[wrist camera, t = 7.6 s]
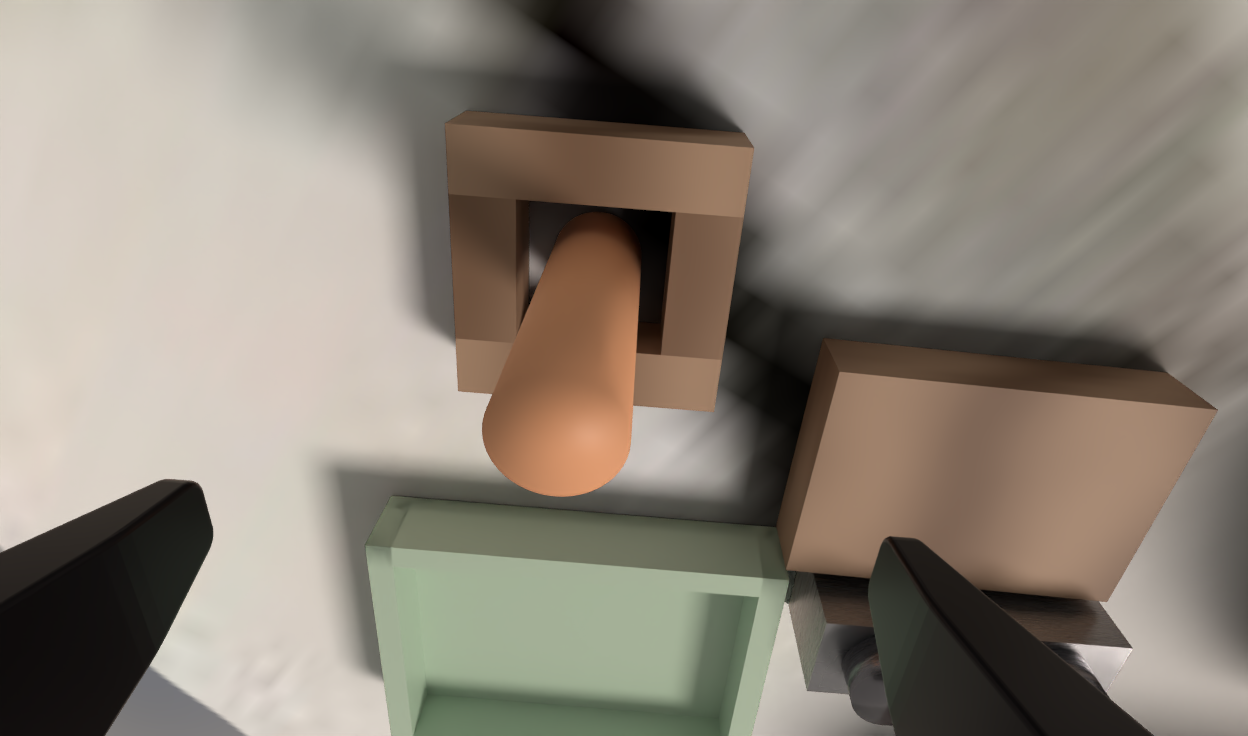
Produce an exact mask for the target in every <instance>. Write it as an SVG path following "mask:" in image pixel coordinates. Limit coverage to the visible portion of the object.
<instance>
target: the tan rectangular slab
mask: <svg viewBox="0 0 1248 736" xmlns="http://www.w3.org/2000/svg"><path fill="white" fill-rule="evenodd" d="M1217 411H1218V410H1217V409H1216V408H1215V407H1213V406H1212V405H1211V404H1209V403H1208V402H1207V401H1205V400H1204V399H1202V398H1201V397H1200V396H1198V395H1197V394H1196V393H1194V392H1193V391H1192V390H1190V389H1189V388H1187V387H1186V386H1185V385H1183V384H1182V383H1181V382H1179V381H1178V380H1177V379H1175V378H1174V377H1172V376H1171V375H1170V374H1168V373H1166V372H1156V371H1146V370H1136V369H1126V368H1116V367H1107V366H1097V365H1087V364H1077V363H1067V362H1057V361H1047V360H1037V359H1027V358H1017V357H1007V356H997V355H987V354H978V353H968V352H958V351H948V350H938V349H928V348H918V347H908V346H898V345H888V344H878V343H868V342H858V341H849V340H839V339H829V338H823V341H822V345H821V349H820V353H819V357H818V361H817V365H816V369H815V373H814V377H813V381H812V384H811V388H810V392H809V396H808V400H807V404H806V408H805V412H804V416H803V420H802V424H801V428H800V432H799V436H798V440H797V444H796V448H795V452H794V456H793V460H792V464H791V468H790V472H789V476H788V480H787V484H786V488H785V492H784V496H783V500H782V504H781V508H780V512H779V516H778V520H777V524H776V527H777V532H778V536H779V540H780V545H781V549H782V554H783V558H784V563H785V567H786V570H790V571H800V572H810V573H821V574H831V575H841V576H851V577H861V578H871V575H872V571H873V568H874V565H875V562H876V559H877V555H878V552H879V549H880V546H881V544H882V542H883V540H884V539H885V538H887V537H889V536H896V537H909V538H916V539H918V540H920V541H922V542H923V543H924V544H925V545H927V546H928V547H929V548H930V549H931V550H933V551H934V552H935V553H936V554H937V555H939V556H940V557H941V558H942V559H943V560H945V561H946V562H947V563H948V564H949V565H950V566H952V567H953V568H954V569H955V570H956V571H958V572H959V573H960V574H961V575H962V576H964V577H965V578H966V579H967V580H968V581H970V582H971V583H972V584H973V585H974V586H976V587H977V588H978V589H981V590H991V591H1001V592H1011V593H1021V594H1031V595H1042V596H1052V597H1062V598H1072V599H1082V600H1092V601H1102V602H1107V601H1108V599H1109V598H1110V596H1111V594H1112V593H1113V591H1114V589H1115V587H1116V586H1117V584H1118V582H1119V580H1120V579H1121V577H1122V575H1123V574H1124V572H1125V570H1126V568H1127V567H1128V565H1129V563H1130V561H1131V560H1132V558H1133V556H1134V554H1135V553H1136V551H1137V549H1138V548H1139V546H1140V544H1141V542H1142V541H1143V539H1144V537H1145V535H1146V534H1147V532H1148V530H1149V529H1150V527H1151V525H1152V523H1153V522H1154V520H1155V518H1156V516H1157V515H1158V513H1159V511H1160V509H1161V508H1162V506H1163V504H1164V503H1165V501H1166V499H1167V497H1168V496H1169V494H1170V492H1171V490H1172V489H1173V487H1174V485H1175V484H1176V482H1177V480H1178V478H1179V477H1180V475H1181V473H1182V471H1183V470H1184V468H1185V466H1186V465H1187V463H1188V461H1189V459H1190V458H1191V456H1192V454H1193V452H1194V451H1195V449H1196V447H1197V445H1198V444H1199V442H1200V440H1201V439H1202V437H1203V435H1204V433H1205V432H1206V430H1207V428H1208V426H1209V425H1210V423H1211V421H1212V420H1213V418H1214V416H1215V414H1216V413H1217Z"/></svg>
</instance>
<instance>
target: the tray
mask: <svg viewBox="0 0 1248 736" xmlns="http://www.w3.org/2000/svg"><path fill="white" fill-rule="evenodd" d="M365 551H366V558H367V565H368V572H369V579H370V587H371V594H372V601H373V608H374V615H375V622H376V630H377V637H378V644H379V651H380V658H381V665H382V673H383V680H384V687H385V694H386V701H387V708H388V716H389V723H390V730H391V736H751V735H752V731H753V727H754V723H755V719H756V715H757V711H758V707H759V703H760V699H761V695H762V691H763V686H764V682H765V678H766V674H767V670H768V666H769V662H770V658H771V654H772V650H773V646H774V642H775V638H776V634H777V630H778V625H779V621H780V617H781V613H782V609H783V605H784V601H785V597H786V593H787V589H788V585H789V581H790V580H789V575H788V571H787V570H786V567H785V563H784V558H783V554H782V549H781V545H780V540H779V536H778V532H777V527H766V526H754V525H741V524H729V523H717V522H705V521H693V520H681V519H668V518H656V517H644V516H632V515H620V514H607V513H595V512H583V511H571V510H559V509H546V508H534V507H522V506H510V505H498V504H485V503H473V502H461V501H449V500H437V499H424V498H412V497H400V496H391V497H390V499H389V501H388V503H387V505H386V506H385V508H384V510H383V512H382V514H381V516H380V518H379V520H378V521H377V523H376V525H375V527H374V529H373V531H372V533H371V535H370V536H369V538H368V540H367V542H366V544H365Z"/></svg>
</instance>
